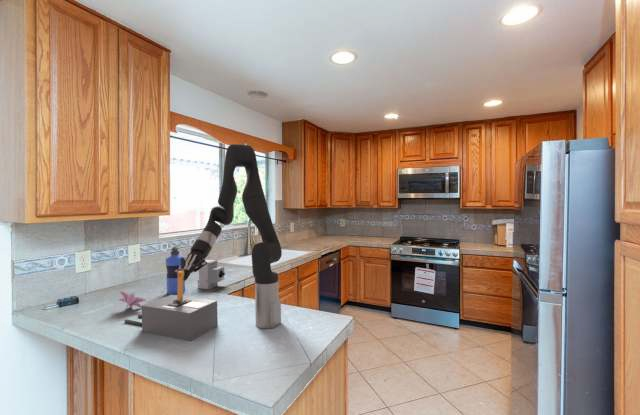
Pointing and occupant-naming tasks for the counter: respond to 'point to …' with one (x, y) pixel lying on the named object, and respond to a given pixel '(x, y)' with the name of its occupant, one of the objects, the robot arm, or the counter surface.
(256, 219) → the robot arm
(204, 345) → the counter surface
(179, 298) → the breaker lever
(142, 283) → the counter surface
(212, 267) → the circuit breaker
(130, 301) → the lily
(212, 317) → the box
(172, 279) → the water bottle
